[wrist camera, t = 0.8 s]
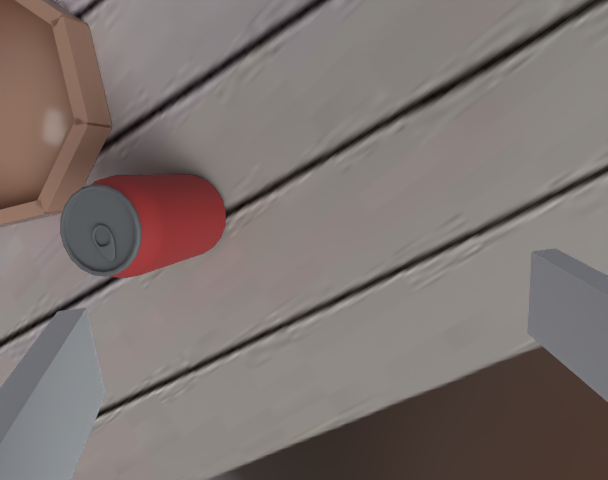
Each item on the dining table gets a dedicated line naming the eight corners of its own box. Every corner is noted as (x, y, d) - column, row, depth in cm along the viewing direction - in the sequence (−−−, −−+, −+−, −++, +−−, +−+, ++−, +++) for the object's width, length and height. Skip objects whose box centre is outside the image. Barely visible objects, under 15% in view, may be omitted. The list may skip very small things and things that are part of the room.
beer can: (173, 265, 44) (76, 299, 32) (144, 192, 44) (36, 200, 32) (241, 238, 42) (163, 263, 30) (210, 161, 42) (120, 158, 30)
